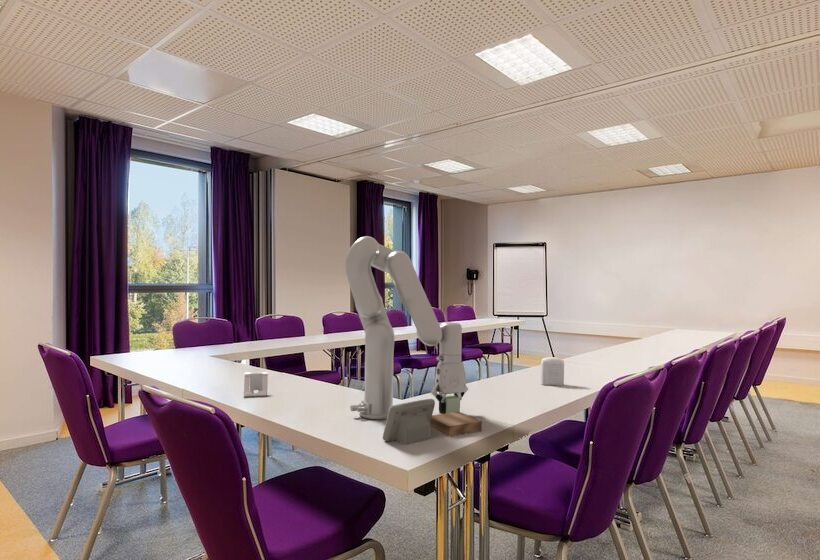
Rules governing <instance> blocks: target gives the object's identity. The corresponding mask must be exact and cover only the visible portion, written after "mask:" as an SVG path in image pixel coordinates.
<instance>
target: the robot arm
mask: <svg viewBox="0 0 820 560" xmlns="http://www.w3.org/2000/svg"><path fill="white" fill-rule="evenodd" d="M344 261H345V263H344V268H345V275H346V278H347V282H348V285H349V288H350V291H351V294H352V297H353V301H354V306H355V310H356V312H357V313H358V317H359V319H360V323H361V325H362V327H363V331H364V333H365V334H364V335H365V337H364V339H365V341H364V342H365V343H364V344H365V345H364V346H365V347H364V349H365V351H364V397H363V398H364V400H361V403H359V404H351V405H350V406H349V407H350V408H349V409H350V411H351V412H357V413H359V416H361V417H362V418H365V419H369V420H370V419H371V420H387V417H388V413H389V409H390V407H391V406H392V405H394V404H393V403H394V401H393V400H394V399H393V397H394V351H395V331H394V328H393V326H392V325H391V323H390V320H389V319H390V318H389V317H388V314H387V310H386V308H385V305H384V303H383V301H384V300H383V297H382V296H381V293H380V292H379V289H378V287H377V284H376V281H375V277H374V274H373V272H372V271H373V270H372V268H375V269H377V270H380V271H382V272H384V273H386V274H389V276H390V279H391V281H392V283H393V285H394V288H395V290H396V292H397V295H398V297H399V299H400V301H401V303H402V305H403V307H404V308H405V309H406V310H407V312H408V313H409V315H410V317H411V319H412V323H413V324H414V326H415V329H416V336H417V338H418V340H419V341H420V342H422V344H424V345H425V346H428V347H434V346H437V345H438V344H439V349H438V350H439V355H438V356H436V361H438V363H437V365H436V368H435V369H436V370H435V377H434V378H435V379H434V380H435V381H434V386H433V388H432V389H431V391H430V394H431V395H432V396H434V398H435V399H436V400H437V401H438V414H440V413H441V414H445V413H446V403H445V398H446V395H450V394H452V395H455V396H457V397H460V401H462V400H463V397H464V395H465V394H466V393H467V391H469V388H468V386H467V385H466V383H467V382H466V380H467V379H466V369H465V365H464V362H462V340H463V338H462V337H463V336H462V335H463V331H462V330H463V328H462V325H461V324H460V323H458V322H442V323H441V322H439V321H438V319H437V316H436V314H435V312H434V309H433V307H432V304H431V303H430V301H429V299H428V297H427V294H426V292H425V290H424V288H423V286H422V283H421V281H420V278H419V276H418V274H417V272H416V270H415V269H416V268H415V267H414V265H413V262H412V259H411V258H410V256H409V255H408V254H407V253H406V252H405V251H403V250H394V249H392V248H390V247H387V246H385V245H382V244H380V243H379V242H378V241H377V240H376V238H374V237H372V236H368V235H365V236H361V237H359V238H357V240H355V242H354V243H352V245H351V246H350V248H349V249H348V251H347V254H346V257H345V260H344Z"/></svg>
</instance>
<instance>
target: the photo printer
mask: <svg viewBox="0 0 820 560" xmlns="http://www.w3.org/2000/svg"><path fill="white" fill-rule="evenodd" d="M564 380H565V361H564V359H562V358H559V357H555V356H554V357H553V356H549V357H544V358H541V362H540V384H541V385H542V386H543V385H544V386H561V387H562V386H564V384H565V381H564Z"/></svg>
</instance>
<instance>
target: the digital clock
mask: <svg viewBox="0 0 820 560" xmlns="http://www.w3.org/2000/svg"><path fill="white" fill-rule="evenodd" d="M435 404H436V402H435V399H433V398H427V399H420V400H419V399H418V400H415V401H414V400H413V401H410V402H403V403H398V404H393V405H392V406H391V407H390V409H389V413H388V417H387V419H386V420H385V426H384V429H383V434H382V439H383V441H386V442H390V441H392V442H393V441H396V442H399V443H401V444H404V445H405V446H407V445H410V444H414V443H418V442H422V441H426V440H430V439H431V428H430V421H431V417H432V415H434V414H433V413H434V410H435V406H436V405H435Z"/></svg>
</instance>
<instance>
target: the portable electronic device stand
mask: <svg viewBox="0 0 820 560" xmlns="http://www.w3.org/2000/svg"><path fill="white" fill-rule="evenodd" d="M268 376H269V372H267V371H265V372H262V371H261V372H244V378H243V379H244V382H243V383H244V384H243V398H252V397H253V398H254V397H255V398H256V397H268V383H269V382H268V380H269V377H268ZM254 391H258V392H255V393H254Z"/></svg>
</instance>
